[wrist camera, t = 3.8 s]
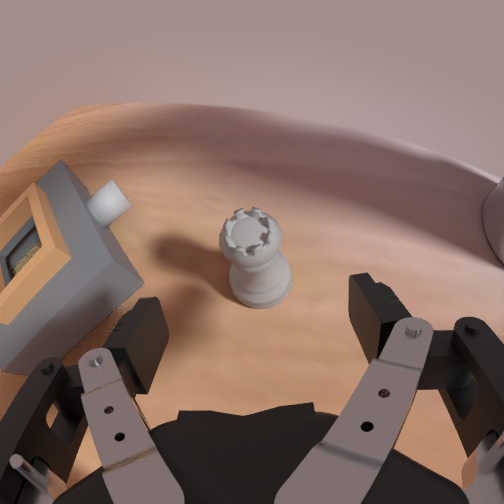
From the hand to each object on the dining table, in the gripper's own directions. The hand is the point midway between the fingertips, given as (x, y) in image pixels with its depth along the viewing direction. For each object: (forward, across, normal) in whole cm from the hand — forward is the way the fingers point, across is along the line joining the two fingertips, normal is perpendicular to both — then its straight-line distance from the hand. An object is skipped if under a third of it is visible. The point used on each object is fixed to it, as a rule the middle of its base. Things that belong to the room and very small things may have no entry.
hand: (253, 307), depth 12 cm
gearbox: (+11, +18, +1) cm, 21 cm away
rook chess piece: (+9, 0, +4) cm, 10 cm away
